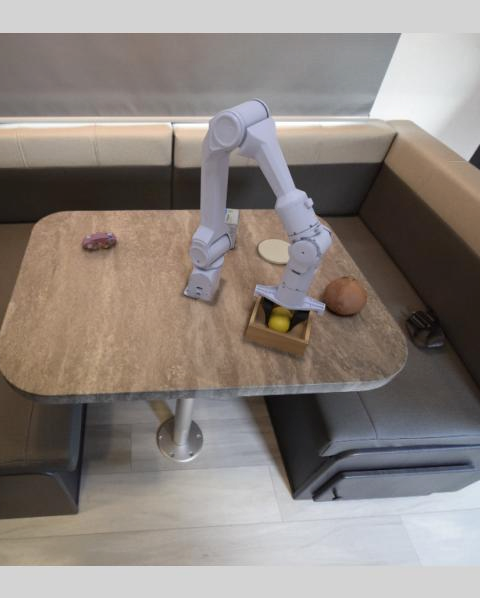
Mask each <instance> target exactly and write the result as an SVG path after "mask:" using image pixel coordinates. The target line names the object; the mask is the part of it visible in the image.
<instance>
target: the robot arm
mask: <svg viewBox="0 0 480 598" xmlns="http://www.w3.org/2000/svg"><path fill="white" fill-rule="evenodd" d="M237 148H238V150H237V152H236V153H235V155H237V156H239V157H242V158H243V157H244V158H247V159H252V160H254V161H256V163H257V165H258V168H259V169H260V170H261V172H262V174H263V176H264V177H265V180H266V181H267V183H268V184H269V187H270V188H271V189H272V191H273V194H274V195H275V197H276V201H275V203H274V204H275V205H274V210H275V213H276V214H277V215H276V216H277V217H278V219H279V221H280V224H281V225H282V227H283V230H284V232H285V234H286V235H287V238H288V240H289V242H290V244H291V245H289V246H288V254H289V257H290V258H289V260H288V262H287V264H285V268H284V270H283V274H282V276H281V279H280V282H279V284H278V286H276V285H275V286H274V285H273V286H272V285H262V284H256V286H255V289H254V292H253V297H255V298H257V297H258V296H262V297H264V299H263V303H262V308H263V310H264V313H265V324H268V322H269V318H270V315H271V312H272V310H273V307H274V304H275V303H276V304H278V305H280V306H282V307H283V308H286V309H291V310H295V312H294V314H293V316H292V318H291V322H290V326H289V329H288V330H287V331H291V330H292V329H293V328H294V327H295V326H296V325H297V324H299V323H301V322H303V321H306V320H307V319H308V317H309V313H310V311H313V313H315V314H316V315H317V316H320V317H322V316H323V314H324V313H325V309H326V303H325V302H321V301H319V300H316V299H315V298H313V297H311V296H309V295H307V294H308V292H309V290H310V287H311V285H312V283H313V281H314V279H315V277H316V275H317V273H318V270H319V267H320V265H321V262H322V260H323V257H324V255H325V254H326V253H327V252H328V251H329V250H330V249H331V247H332V245H333V241H334V238H333V237H334V236H333V233H332V230H331V229H330V228H329V227H328V226H326V225H324V224H322V222H321V221H320V220H319V219H318V216H317V215H316V213H315V210H314V208H313V206H314V204H315V203H314V201H313V199H312V197H308V194H307V193H306V191H303V190H301V189H298V188H297V187H296V185H295V183H294V180H293V177H292V175H291V172H290V169H289V167H288V164H287V162H286V159H285V156H284V154H283V151H282V147H281V145H280V143H279V141H278V137H277V128H276V121H275V119H274V118H273V117H272V116H271V112H270V109H269V107H268V105H267V104H266V102H265V101H264V100H262V99H260V98H250V99H248V100H246V101H244V102H242V103H240V104H238V105H235V106H233V107H230V108H227V109H223V110H221V111H219V112H217V114H215V115H214V116H213V117H211V118H210V119H209V120H208V130H207V132H206V134H205V135H204V138H203V140H202V143H201V155H200V156H201V157H200V159H201V162H200V164H201V165H200V168H201V169H200V207H199V208H200V209H199V211H200V212H199V216H200V217H199V226H198V227H197V230H195V232H194V234H193V236H192V238H191V244H190V246H189V247H188V256H189V258H190V260H191V262H192V271H191V273H190V275H189V277H188V284H187V286H186V287H185V290H184V291H183V295H184V296H186V297H190V298H192V299H193V298H194V299H196V300H198V299H201V300H204V301H208V302H210V301H211V299H212V297H213V295H214V294H215V293H216V291H218V289H219V286H220V281H221V276H222V271H223V266H224V261H225V257H226V253H227V252H229V251H230V250H232V248H231V247H232V239H231V237H230V227H229V226H227V225H226V224H225V211H226V208H227V196H228V195H227V194H228V184H229V183H228V182H229V169H230V157H231V153H232V152H234V151H235V150H236V149H237Z"/></svg>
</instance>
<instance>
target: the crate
mask: <svg viewBox="0 0 480 598" xmlns="http://www.w3.org/2000/svg"><path fill="white" fill-rule="evenodd" d="M263 299H264V297H262V296H258V297H256V300H255V304H254V307H253V310H252V313H251V316H250V319H249V322H248V325H247V328H246V331H245V335H244V339H246V340H249V341H252V342H256V343H258V344H262V345H265V346H268V347H271V348H274V349H277V350H280V351H284V352H287V353H289V354H292V355H295V356H299V357H303V354H304V352H305V350H306V348H307V347H308V345H309V342H310V335H311V329H312V322H313V316H314V312H313V311H310V313H309V317H308V319H307V320H306V321H303V322H301V323H299V324H297V325H296V326H295V327H294V328H293V329H292V330H291V331H286V332H285V333H281V332H278V331H275V330H272V329H270V328H269V326H268V324H265V313H264V310H263V308H262V303H263ZM277 307H282V306H280V305H278V304H276V303H275V304H274V307H273V310H274V309H275V308H277ZM273 310H272V311H273ZM288 310H289V311H290V313H291V318H292V316H293V314H294V312H295V310H291V309H288Z"/></svg>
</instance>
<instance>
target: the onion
mask: <svg viewBox="0 0 480 598" xmlns="http://www.w3.org/2000/svg"><path fill="white" fill-rule="evenodd" d="M323 301H324V304H325V306H327V308H328V309H329V310H330V311H331V312H333V314H335V315H339V316H343V317H345V316H349V315H354V314H356V313H360V312H361V311H362V310H364V308H365V306H366V305H367V303H368V292H367V290H366V288H365V287H364V286H363V285H362V283H360V282H359V281H358V280H357V279H356V277H354V276H353V275H351V274H350V275H347V276H341V277H338V278H336V279H333V280H332V281H330V282H329V283H328V284H327V285H326V286H325V288H324V290H323Z"/></svg>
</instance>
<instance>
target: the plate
mask: <svg viewBox="0 0 480 598" xmlns="http://www.w3.org/2000/svg"><path fill="white" fill-rule="evenodd" d="M289 245H291V243H289V242H287V241H285V240H283V239H277V238H269V239H264V240H262V241H261V242H260V243H259V244H258V246H257V247H258V248H257V253H258V255H259V256H260V257H261V258H262V259H263V260H264V261H266V262H269V263H271V264H274V265H275V264H276V265H287V262H288V260H289V258H290V257H289V254H288V246H289Z"/></svg>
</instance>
